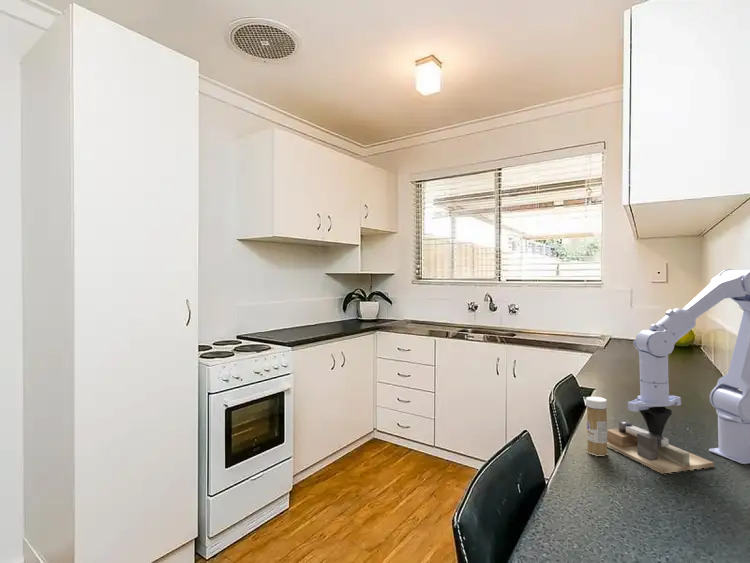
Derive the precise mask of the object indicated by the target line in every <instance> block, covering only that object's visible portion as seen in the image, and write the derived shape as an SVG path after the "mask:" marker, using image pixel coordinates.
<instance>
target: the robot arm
mask: <svg viewBox="0 0 750 563" xmlns="http://www.w3.org/2000/svg"><path fill="white" fill-rule="evenodd" d="M725 299H731V300H732V301H734V302H735V303H736V304H737V305H738V306H739V307H740V308H741V309H742V310H743V313H742V316H741V321H740V325H739V329H738V333H737V337H736V339H735V344H734V348H733V351H732V356H731V360H730V363H729V367H728V370H727V371H728V372H727V373H726V374H725V375H723V376H721V377H720V378H718V379H717V383H716V385H715V386H714V388H712V390H711V391H710V394H709V401H710V404H711V405H712V407H714V409H715V413H716V414H717V430H718V431H717V436H718V438H717V439H718V444H717V445H718V447H715V448H709V449H708V451H709V452H711V453H714V454H716V455H718V456H721V457H723V458H726V459H729V460H731V461H734V462H736V463H739V464H742V465H748V464H750V268H745V269H743V268H742V269H739V268H738V269H733V268H727V269H724V270H722V271H721V272H719V273H718V274H717V275H715V276H714V277H712V278H711V280H710V283H709V284H708V285H707V286H706V287H704V288H703V289H702V290H701V291H700V292H699V293H698V294H697V295H696V296H695V297H694V298H692V299H691V300H690V301H689V302H688V303H687V304H686V305H685V306H684V307H682V308H673V309H668V310H666V311H665V313H664V314H665V315H664V316H663V317H662V318H660V319H659V320H658V321H657V322H656V323H651V324H650V326H649V327H650V328H649V329H643V330H641V331H639V332H638V334H637V335H636V337H635V340H633V341H632V342H633V346H634V348H635V349H636V351H637V352H638V359H639V391H640V392H639V393H640V395H637V396H636V398H635V399H633V400H631V401H627V411H630V412H633V413H638V412H639V413H640V414H641V415H642V418H643V419H644V421H645V424H646V426H647V429H648V430H647V431H649V432H651V433H654V434H657V435H659V436H662V435H663V432H664V429H665V426H666V424H667V421H668V420H669V418H670V417H671V416H672V414H673V413H672V412H673V411H672V409H669V408H667V407H671V406H677V407H678V406H679V407H680V406H681V405H682V398H681V396H678V395H673V394H671V395H670V391H669V390H670V387H669V385H670V384H669V355H670V354H672V352H673V351H674V349H675V345H676V343H677V342H678V341H679V340H680V339H681V338H683V337H684V336H685V335H687V334H688V333H689V332H690V331H691V330H693V329H694V328H695V327H696V326H697V323H696V320H697V319H698V318H700V316H702V315H704V314H705V313H706V312H708V311H709V310H710V309H712V308H713V307H715V306H716V305H718V304H720V302H722V301H724V300H725ZM662 437H663V436H662Z"/></svg>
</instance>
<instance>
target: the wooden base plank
mask: <svg viewBox="0 0 750 563" xmlns="http://www.w3.org/2000/svg"><path fill="white" fill-rule="evenodd" d="M607 446H609V447H611V448H613V449H614V450H617V451H619V452H621V453H622V454H624V455H626V456H628V457H630V458H632V459H634V460H636V461H638V462H640V463H642V464H644V465H646V466H648V467H650V468H652V469H653V470H655V471H657V472H660V473H662V474H663V473H670V474H672V473H671V472H677V473H679V472H678V471H684V472H687V471H686V470H690V471H695V470H694V469H697V470H702V468H704V469H710V467H711V468H714V467H715V465H714V461H711V460H708V459H706V458H704V457H701V456H699V455H697V454H694V453H691V452H689V451H686V450H684V449H682V448H679V447H676V446H674V445H672V444H670V443H669V446H666V447H660V446H658V445H657V437H654V436H652V435H649V434H647V433H637V437H636V436H633V435H631V434H629V433H626V432H622V431H619V427H618V428H611V429H608V428H607ZM653 470H652V471H653ZM655 471H654V472H655ZM657 472H656V473H657Z"/></svg>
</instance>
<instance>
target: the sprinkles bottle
mask: <svg viewBox="0 0 750 563" xmlns="http://www.w3.org/2000/svg"><path fill="white" fill-rule="evenodd" d="M585 406H586V414H587V416H586V417H587V419H586V438H587V449H586V450H587V451H588V452H590V453H593V454H596V455H606V454H607V453H608V448H607V430H608V418H607V416H608V415H607V408H608V400H607V399H606V398H604V397H600V396H587V397H586V398H585ZM587 451H586V452H587ZM588 452H587V453H588ZM608 454H609V453H608Z"/></svg>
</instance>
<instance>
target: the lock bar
mask: <svg viewBox="0 0 750 563" xmlns="http://www.w3.org/2000/svg"><path fill="white" fill-rule="evenodd" d="M617 424H618V428H619V431H622V432H626V433H629V434H631V435H633V436H636V437H637V433H647V434H649V435H652V436H654V437H657V445H658V446H660V447H666V446H669V444H670V443H669V438H667V437H664V436H659V435H657V434H654V433H651V432H649V430H647V429H644V428H641V427H638V426H635V425H633V422H632V421H628V420H618V423H617Z"/></svg>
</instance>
